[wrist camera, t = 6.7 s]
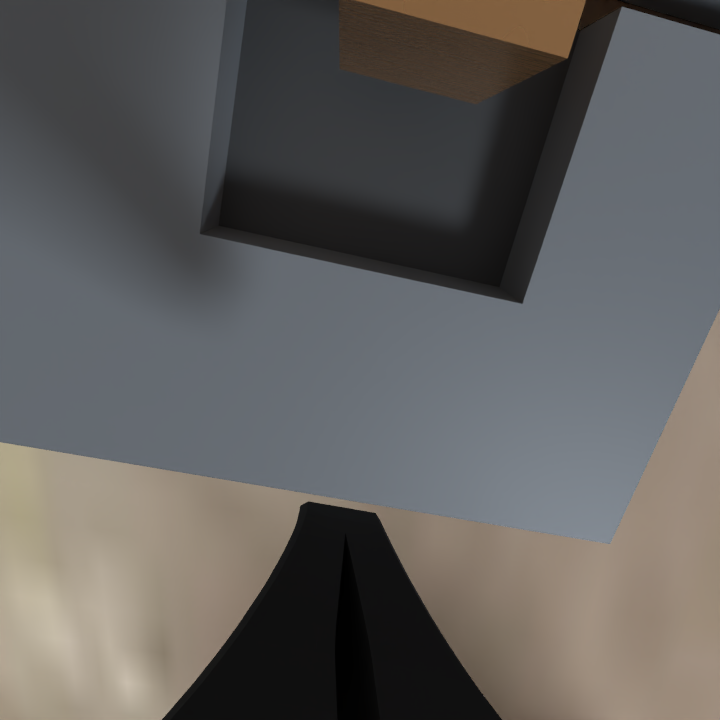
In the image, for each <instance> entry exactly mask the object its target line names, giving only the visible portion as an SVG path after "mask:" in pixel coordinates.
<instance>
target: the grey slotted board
mask: <svg viewBox="0 0 720 720" xmlns="http://www.w3.org/2000/svg"><path fill="white" fill-rule="evenodd" d="M620 1H623V2H627V3H630V4H633V5H637V6H640V7H644V8H647V9H651V10H654V11H658V12H661V13H665V14H668V15H672V16H675V17H678V18H682V19H685V20H689V21H692V22H696V23H699V24H703V25H706V26H710V27H713V28H717V29H720V0H620ZM719 309H720V35H719V34H716V33H712V32H709V31H705V30H702V29H698V28H695V27H691V26H688V25H684V24H681V23H677V22H674V21H671V20H667V19H664V18H660V17H657V16H653V15H650V14H646V13H643V12H639V11H636V10H632V9H629V8H625V7H620V8H619V9H617V10H615V11H614V12H612V13H610V14H608V15H607V16H605V17H603V18H602V19H600V20H598V21H597V22H595V23H593V24H591V25H590V26H588V27H586V28H585V29H583V30H581V31H578V30H577V31H576V34H575V37H574V40H573V43H572V46H571V50H570V53H569V56H568V58H567V59H565V60H563V61H561V62H559V63H557V64H555V65H553V66H551V67H549V68H547V69H545V70H543V71H541V72H539V73H538V74H536V75H534V76H532V77H530V78H528V79H526V80H524V81H522V82H520V83H518V84H516V85H514V86H512V87H510V88H508V89H506V90H504V91H502V92H500V93H498V94H496V95H494V96H492V97H490V98H488V99H486V100H484V101H482V102H480V103H478V104H473V103H469V102H465V101H461V100H457V99H453V98H449V97H445V96H442V95H438V94H434V93H430V92H426V91H422V90H418V89H414V88H411V87H407V86H403V85H399V84H395V83H391V82H387V81H383V80H379V79H376V78H372V77H368V76H364V75H360V74H356V73H352V72H348V71H345V70H341V69H340V50H339V0H0V442H3V443H9V444H15V445H21V446H27V447H33V448H39V449H45V450H51V451H57V452H63V453H69V454H75V455H81V456H87V457H93V458H99V459H105V460H111V461H117V462H123V463H129V464H135V465H141V466H147V467H153V468H159V469H165V470H171V471H177V472H183V473H189V474H194V475H200V476H206V477H212V478H218V479H224V480H230V481H236V482H242V483H248V484H254V485H260V486H266V487H272V488H278V489H284V490H290V491H296V492H302V493H308V494H314V495H320V496H326V497H332V498H338V499H344V500H350V501H356V502H362V503H368V504H374V505H380V506H386V507H392V508H398V509H404V510H410V511H416V512H422V513H428V514H434V515H440V516H446V517H452V518H458V519H464V520H470V521H476V522H482V523H488V524H493V525H499V526H505V527H511V528H517V529H523V530H529V531H535V532H541V533H547V534H553V535H559V536H565V537H571V538H577V539H583V540H589V541H595V542H601V543H607V544H610V543H611V541H612V538H613V536H614V534H615V532H616V530H617V528H618V526H619V523H620V521H621V519H622V517H623V515H624V513H625V511H626V508H627V506H628V504H629V502H630V500H631V498H632V496H633V493H634V491H635V489H636V487H637V485H638V483H639V481H640V478H641V476H642V474H643V472H644V470H645V468H646V465H647V463H648V461H649V459H650V457H651V455H652V453H653V450H654V448H655V446H656V444H657V442H658V440H659V438H660V435H661V433H662V431H663V429H664V427H665V425H666V423H667V420H668V418H669V416H670V414H671V412H672V410H673V408H674V405H675V403H676V401H677V399H678V397H679V395H680V393H681V390H682V388H683V386H684V384H685V382H686V380H687V378H688V375H689V373H690V371H691V369H692V367H693V365H694V363H695V360H696V358H697V356H698V354H699V352H700V350H701V348H702V345H703V343H704V341H705V339H706V337H707V335H708V333H709V330H710V328H711V326H712V324H713V322H714V320H715V317H716V315H717V313H718V311H719Z"/></svg>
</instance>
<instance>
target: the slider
mask: <svg viewBox="0 0 720 720" xmlns="http://www.w3.org/2000/svg"><path fill="white" fill-rule="evenodd" d="M585 2H586V0H339V50H340V69H341V70H345V71H348V72H352V73H356V74H360V75H364V76H368V77H372V78H376V79H379V80H383V81H387V82H391V83H395V84H399V85H403V86H407V87H411V88H414V89H418V90H422V91H426V92H430V93H434V94H438V95H442V96H445V97H449V98H453V99H457V100H461V101H465V102H469V103H473V104H478V103H480V102H482V101H484V100H486V99H488V98H490V97H492V96H494V95H496V94H498V93H500V92H502V91H504V90H506V89H508V88H510V87H512V86H514V85H516V84H518V83H520V82H522V81H524V80H526V79H528V78H530V77H532V76H534V75H536V74H538V73H539V72H541V71H543V70H545V69H547V68H549V67H551V66H553V65H555V64H557V63H559V62H561V61H563V60H565V59H567V58H568V56H569V53H570V50H571V46H572V43H573V40H574V37H575V34H576V31H577V27H578V24H579V21H580V18H581V15H582V11H583V8H584V5H585Z"/></svg>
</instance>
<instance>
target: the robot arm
mask: <svg viewBox="0 0 720 720" xmlns="http://www.w3.org/2000/svg"><path fill="white" fill-rule="evenodd" d="M162 720H502V719H501V718H500V717H499V715H498V714H497V713H496V711H495V710H494V709H493V707H492V706H491V705H490V704H489V702H488V701H487V700H486V698H485V697H484V696H483V694H482V693H481V692H480V690H479V689H478V687H477V686H476V685H475V683H474V682H473V680H472V679H471V677H470V676H469V675H468V673H467V672H466V670H465V669H464V667H463V666H462V664H461V663H460V661H459V660H458V658H457V657H456V655H455V654H454V652H453V651H452V649H451V648H450V646H449V644H448V643H447V641H446V640H445V638H444V637H443V635H442V634H441V632H440V630H439V629H438V627H437V625H436V624H435V622H434V621H433V619H432V617H431V616H430V614H429V612H428V610H427V609H426V607H425V605H424V604H423V602H422V600H421V598H420V597H419V595H418V593H417V591H416V590H415V588H414V586H413V584H412V583H411V581H410V579H409V577H408V575H407V573H406V572H405V570H404V568H403V566H402V564H401V562H400V560H399V558H398V556H397V554H396V552H395V550H394V548H393V546H392V544H391V542H390V540H389V538H388V536H387V534H386V532H385V530H384V528H383V526H382V524H381V521H380V519H379V518H378V516H377V515H376V513H372V512H366V511H360V510H354V509H349V508H343V507H337V506H331V505H325V504H320V503H314V502H307V503H305V504H303V505H301V506H300V511H299V515H298V520H297V523H296V526H295V529H294V531H293V533H292V536H291V538H290V540H289V542H288V544H287V546H286V548H285V550H284V552H283V554H282V556H281V558H280V559H279V561H278V563H277V565H276V566H275V568H274V570H273V572H272V574H271V575H270V577H269V579H268V581H267V582H266V584H265V586H264V587H263V589H262V590H261V592H260V593H259V595H258V596H257V598H256V599H255V601H254V602H253V604H252V605H251V607H250V608H249V610H248V611H247V613H246V614H245V616H244V617H243V619H242V620H241V622H240V623H239V625H238V626H237V627H236V629H235V630H234V632H233V633H232V634H231V636H230V637H229V638H228V640H227V641H226V642H225V644H224V645H223V646H222V648H221V649H220V650H219V652H218V653H217V654H216V656H215V657H214V658H213V659H212V661H211V662H210V663H209V664H208V666H207V667H206V668H205V669H204V671H203V672H202V673H201V675H200V676H199V677H198V678H197V680H196V681H195V682H194V683H193V684H192V686H191V687H190V688H189V689H188V690H187V691H186V693H185V694H184V695H183V696H182V697H181V698H180V699H179V701H178V702H177V703H176V704H175V705H174V706H173V708H172V709H171V710H170V711H169V712H168V713H167V715H166V716H165V717H164V718H163V719H162Z"/></svg>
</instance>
